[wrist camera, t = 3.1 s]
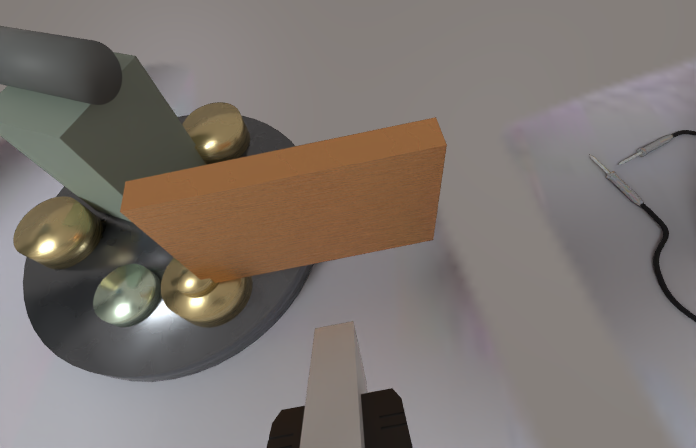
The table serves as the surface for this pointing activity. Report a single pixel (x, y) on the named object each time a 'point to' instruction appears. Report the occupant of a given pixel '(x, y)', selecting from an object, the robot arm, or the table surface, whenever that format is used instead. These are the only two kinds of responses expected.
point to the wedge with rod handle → (87, 116)
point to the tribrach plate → (139, 276)
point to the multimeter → (639, 202)
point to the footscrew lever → (286, 212)
